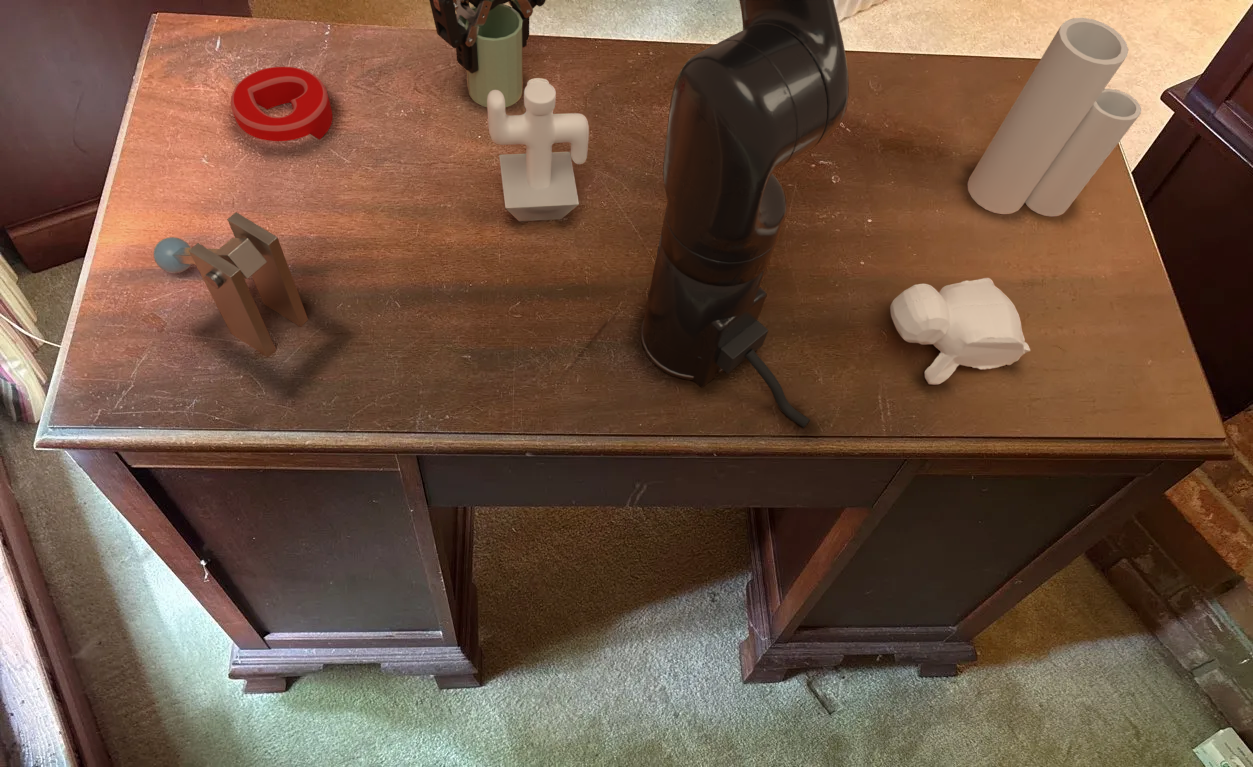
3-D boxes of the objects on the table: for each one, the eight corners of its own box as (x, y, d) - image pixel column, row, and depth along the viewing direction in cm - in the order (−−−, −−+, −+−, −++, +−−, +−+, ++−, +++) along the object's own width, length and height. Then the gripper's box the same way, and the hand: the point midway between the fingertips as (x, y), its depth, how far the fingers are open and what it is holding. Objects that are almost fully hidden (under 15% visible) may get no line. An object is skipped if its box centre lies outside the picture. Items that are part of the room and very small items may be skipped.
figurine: (587, 228, 90) (597, 114, 77) (495, 233, 88) (489, 118, 75) (578, 176, 93) (586, 59, 81) (489, 180, 92) (483, 62, 79)
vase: (975, 214, 96) (1072, 63, 79) (960, 166, 100) (1049, 12, 83) (1072, 217, 97) (1188, 69, 80) (1053, 169, 101) (1160, 19, 84)
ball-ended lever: (165, 279, 80) (139, 251, 78) (192, 257, 82) (167, 229, 80) (246, 287, 70) (219, 255, 68) (275, 261, 71) (249, 229, 69)
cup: (533, 93, 99) (534, 24, 92) (491, 116, 97) (488, 48, 89) (499, 64, 101) (496, -5, 94) (457, 86, 99) (451, 16, 91)
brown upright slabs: (203, 334, 79) (151, 241, 68) (260, 284, 82) (219, 188, 71) (288, 389, 77) (248, 303, 66) (342, 336, 80) (313, 245, 69)
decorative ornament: (239, 91, 95) (230, 66, 92) (331, 86, 97) (325, 62, 94) (236, 154, 90) (227, 131, 88) (333, 148, 92) (327, 125, 89)
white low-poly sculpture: (959, 324, 92) (851, 304, 85) (1022, 274, 86) (911, 248, 78) (990, 394, 88) (879, 379, 80) (1059, 347, 81) (945, 327, 74)
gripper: (451, -48, 77) (463, 103, 91) (573, -102, 83) (566, 48, 97) (399, -90, 79) (418, 64, 93) (521, -139, 85) (522, 12, 99)
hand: (494, 55), depth 95 cm, fingers closed on cup, 6 cm apart
